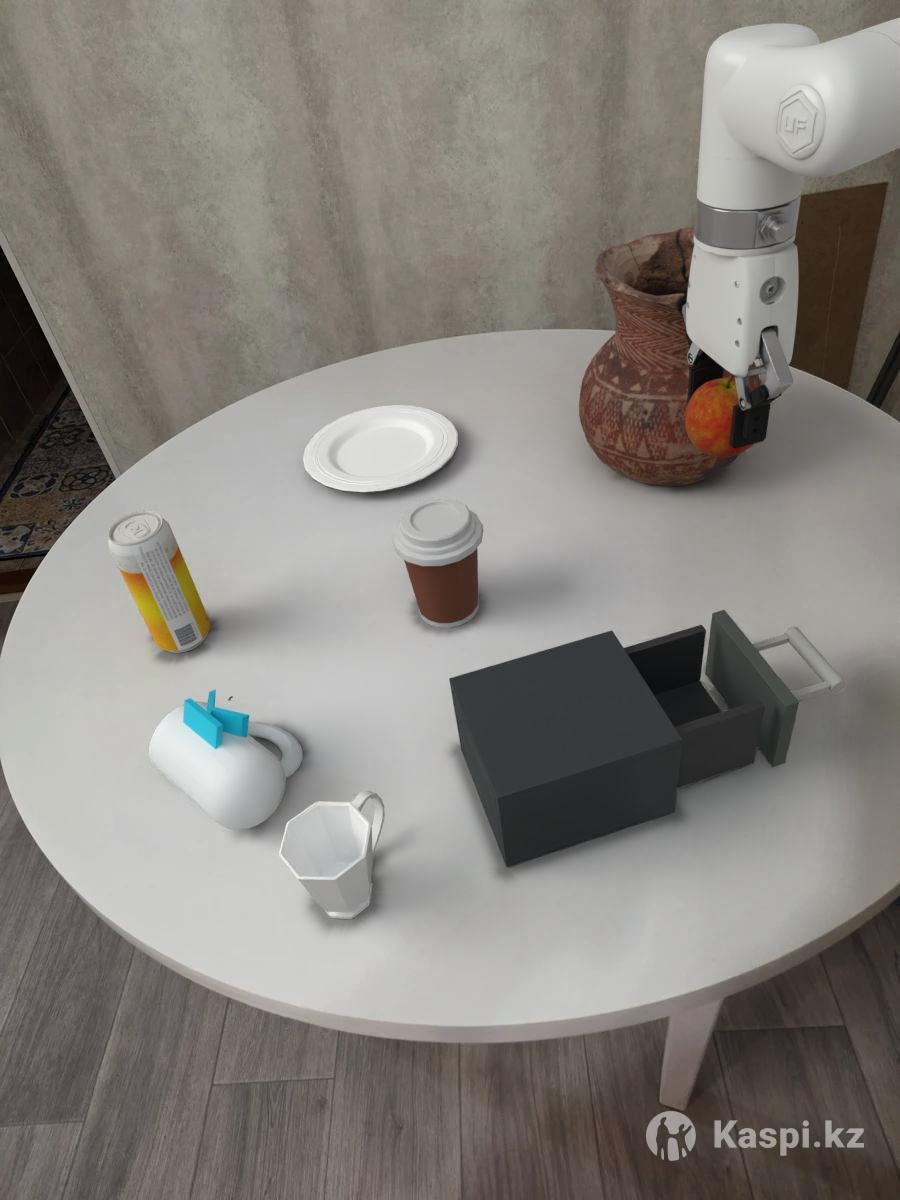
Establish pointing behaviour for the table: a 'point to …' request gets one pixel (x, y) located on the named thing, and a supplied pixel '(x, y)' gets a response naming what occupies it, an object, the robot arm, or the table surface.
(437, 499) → the coffee cup
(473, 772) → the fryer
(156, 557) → the beer can
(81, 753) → the table surface
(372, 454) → the plate
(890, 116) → the robot arm
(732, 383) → the fruit
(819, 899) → the table surface
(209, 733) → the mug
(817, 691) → the grey drawer
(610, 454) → the jug
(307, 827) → the cup
